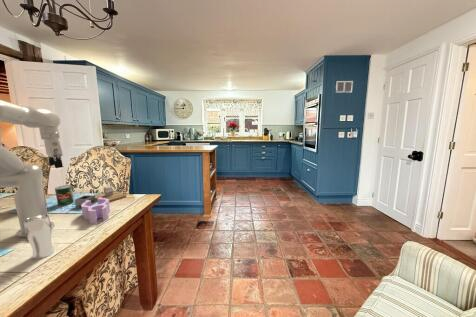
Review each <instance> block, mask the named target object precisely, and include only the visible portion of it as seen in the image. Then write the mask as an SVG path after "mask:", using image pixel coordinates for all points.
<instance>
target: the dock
mask: <svg viewBox="0 0 476 317" xmlns="http://www.w3.org/2000/svg"><path fill="white" fill-rule="evenodd" d="M92 196H95V201H97V202H98V198H100V197H102V198H107V199H109V203H111V202H112V203H113V202H115V201H117V200H120V199H121V200H122V199H124V198H127V194H125V193H124V192H123V193H122V192H120V191H117V190H115V189H113V186H112V185H106V186H103V192H102V193H98V194H94V195H92Z"/></svg>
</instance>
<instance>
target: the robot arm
mask: <svg viewBox="0 0 476 317" xmlns="http://www.w3.org/2000/svg"><path fill="white" fill-rule="evenodd" d="M0 122H1V123H7V124H11V125H20V126H22V125H23V126H24V127H27V128H33V129H34V128H35V129H38V130H39V134H40V139H41V140H43V141H44V142H43V143H44V149H45V154H46V156H47V159H48V164H49V166H50V167H52V166H54V168H55V169H60V168H64V167H63V160H62V157H63V155H64V154H63V151H62V146H61V142H60V140H59V139H60V138H61V137H60V136H61V135H60V132H59V125H60V124H61V119H60V116H59V114H57V113H55V112H54V111H50V110H48V109H44V108H43V109H42V108H37V107H31V106H26V105H25V106H24V105H19V104H15V103H12V102H9V101H7V100H3V99H0ZM1 128H2V127H1V126H0V188H1V189H3V188H13V187H14V188H17V190H16V191H15V193H14V196H13V200H14V204H15V210H16V213H17V218H18V222H19V228H20V229H18V231H17V232H16V236H17V237H18V238H27V236H26V233H25V228H24V220H25V219H27V218H29V217H32V216H35V215H40V214H48V210H47V206H46V204H47V202H46V203H45V199H46V197H45V198H44V193H45V192H44V193H43V187H44V185H43V186H42V182H43V178H44V174H43V173H44V172H43V169H42V168H41V167H40V166H38V165H35V164H25V163H24V161H23V160H22V159H21V157H19V156H18V155H16V154H15V153H14V152H12V151H11V150H9V149H8V148H6V147H5V146H4V145H3V143H2V129H1ZM48 215H49V214H48ZM50 223H51V229H52V228H54V227H55V223H54V222H53V221H50Z"/></svg>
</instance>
